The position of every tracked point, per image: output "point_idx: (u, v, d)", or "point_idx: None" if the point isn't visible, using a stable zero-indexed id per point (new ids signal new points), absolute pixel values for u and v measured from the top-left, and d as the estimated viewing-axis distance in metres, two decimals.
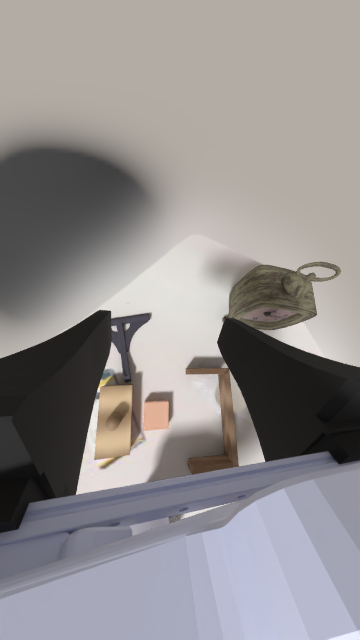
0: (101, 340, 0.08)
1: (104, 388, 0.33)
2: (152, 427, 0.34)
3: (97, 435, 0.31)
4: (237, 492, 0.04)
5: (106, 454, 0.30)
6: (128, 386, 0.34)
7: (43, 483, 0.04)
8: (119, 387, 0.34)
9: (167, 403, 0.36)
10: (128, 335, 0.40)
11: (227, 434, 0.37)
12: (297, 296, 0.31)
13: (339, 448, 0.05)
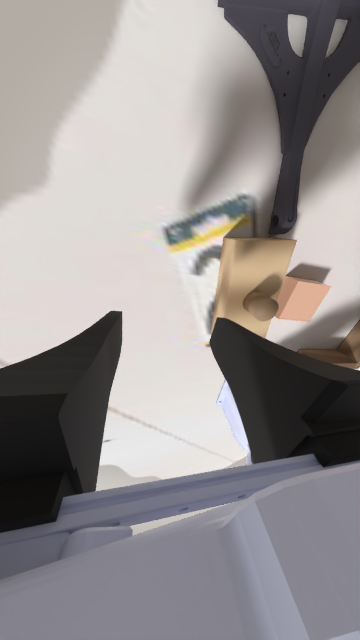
0: (115, 340, 0.08)
1: (244, 244, 0.15)
2: (291, 317, 0.22)
3: None
4: (237, 492, 0.04)
5: None
6: (289, 242, 0.16)
7: (74, 478, 0.04)
8: (272, 243, 0.16)
9: (328, 288, 0.21)
10: (325, 84, 0.13)
11: None
12: None
13: (324, 451, 0.05)
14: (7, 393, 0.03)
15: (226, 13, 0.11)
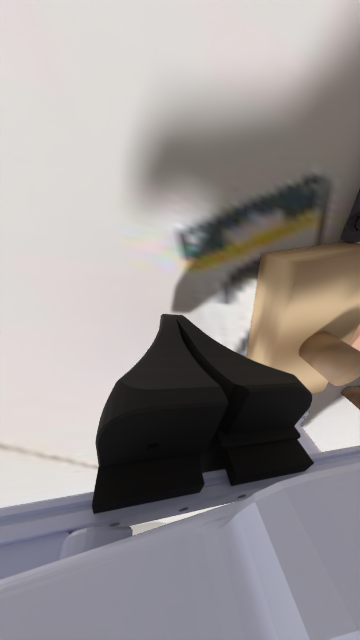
0: None
1: (310, 268, 0.09)
2: None
3: None
4: (237, 492, 0.04)
5: None
6: None
7: None
8: (358, 260, 0.09)
9: None
10: None
11: None
12: None
13: (233, 467, 0.04)
14: (178, 386, 0.03)
15: None
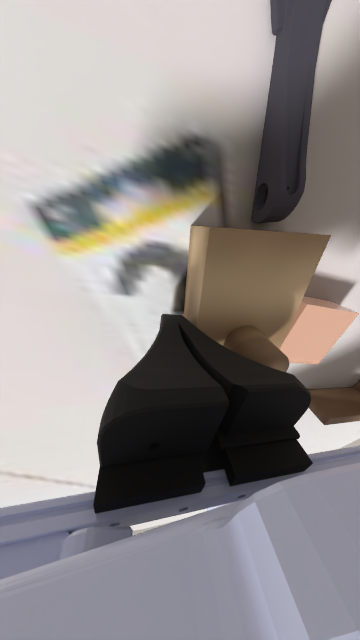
0: None
1: (225, 237, 0.07)
2: (291, 358, 0.14)
3: None
4: (237, 492, 0.04)
5: None
6: (316, 239, 0.08)
7: None
8: (283, 239, 0.08)
9: (353, 317, 0.12)
10: None
11: None
12: None
13: (232, 467, 0.04)
14: (179, 386, 0.03)
15: None
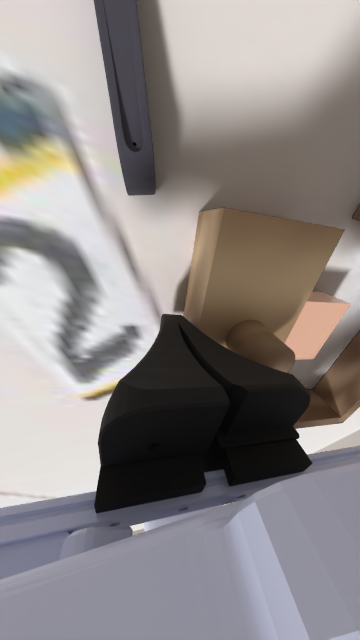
0: None
1: (239, 220, 0.07)
2: None
3: None
4: (237, 492, 0.04)
5: None
6: (329, 233, 0.08)
7: None
8: (297, 229, 0.07)
9: (345, 308, 0.12)
10: None
11: (352, 377, 0.17)
12: None
13: (231, 467, 0.04)
14: (180, 386, 0.04)
15: None
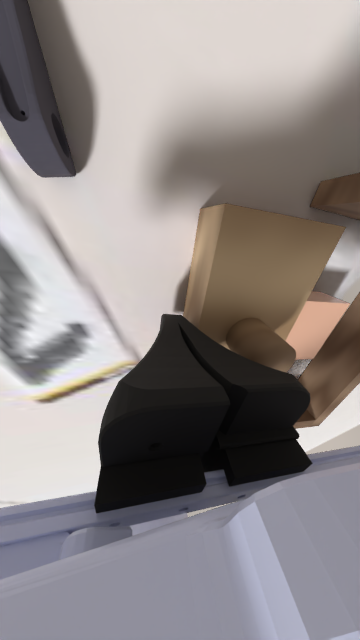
0: None
1: (240, 216, 0.07)
2: None
3: None
4: (237, 492, 0.04)
5: None
6: (330, 230, 0.08)
7: None
8: (298, 226, 0.07)
9: (345, 307, 0.12)
10: None
11: (327, 378, 0.16)
12: None
13: (231, 467, 0.04)
14: (180, 386, 0.04)
15: None
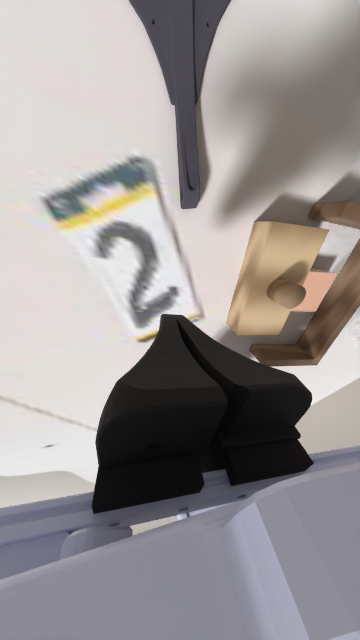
0: None
1: (280, 226, 0.15)
2: (296, 308, 0.21)
3: (247, 307, 0.19)
4: (237, 492, 0.04)
5: (252, 331, 0.21)
6: (322, 231, 0.16)
7: None
8: (306, 230, 0.16)
9: (333, 276, 0.20)
10: (206, 8, 0.10)
11: (321, 329, 0.24)
12: None
13: (233, 467, 0.04)
14: (178, 386, 0.03)
15: None
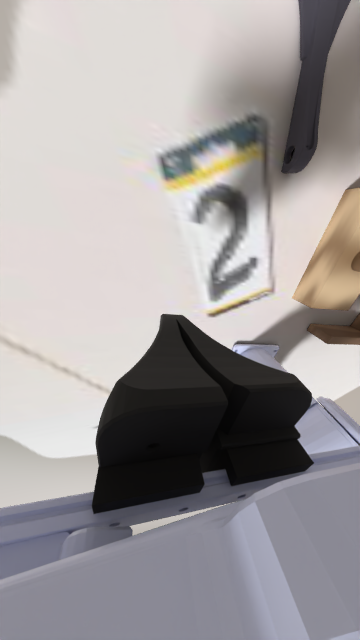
0: None
1: None
2: None
3: (329, 277, 0.19)
4: (237, 492, 0.04)
5: (326, 305, 0.21)
6: None
7: None
8: None
9: None
10: None
11: None
12: None
13: (233, 467, 0.04)
14: (178, 386, 0.03)
15: None
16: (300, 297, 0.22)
